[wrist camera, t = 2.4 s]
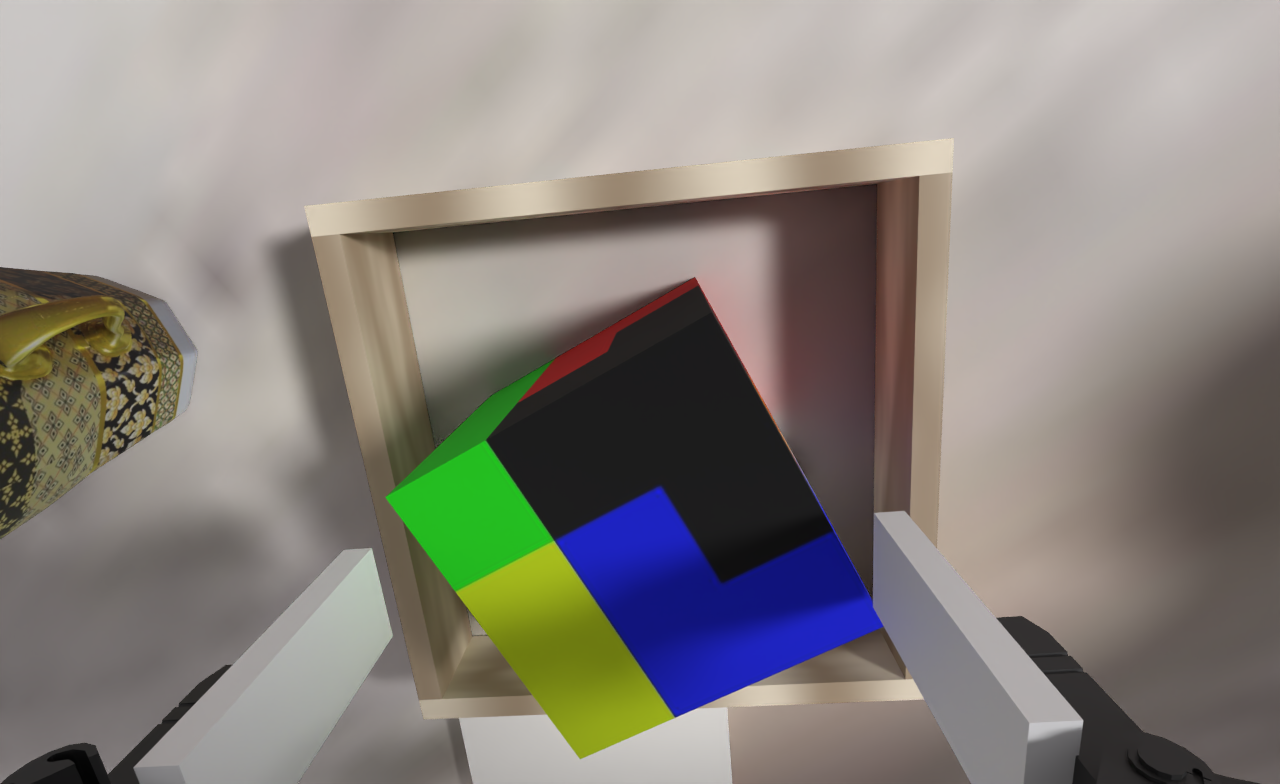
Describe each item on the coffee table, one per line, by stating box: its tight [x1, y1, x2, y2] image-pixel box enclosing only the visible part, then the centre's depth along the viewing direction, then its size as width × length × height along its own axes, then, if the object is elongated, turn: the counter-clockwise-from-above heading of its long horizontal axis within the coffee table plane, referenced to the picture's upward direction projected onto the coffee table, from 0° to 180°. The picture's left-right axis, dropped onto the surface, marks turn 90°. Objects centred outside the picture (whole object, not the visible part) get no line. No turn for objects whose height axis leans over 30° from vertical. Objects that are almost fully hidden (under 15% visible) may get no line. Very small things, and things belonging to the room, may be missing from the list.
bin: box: [304, 138, 954, 719], centre depth 24 cm, size 21×21×4 cm
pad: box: [459, 707, 732, 784], centre depth 30 cm, size 13×13×1 cm
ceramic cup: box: [0, 267, 198, 539], centre depth 21 cm, size 13×10×10 cm
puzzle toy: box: [385, 277, 884, 759], centre depth 21 cm, size 10×10×10 cm
